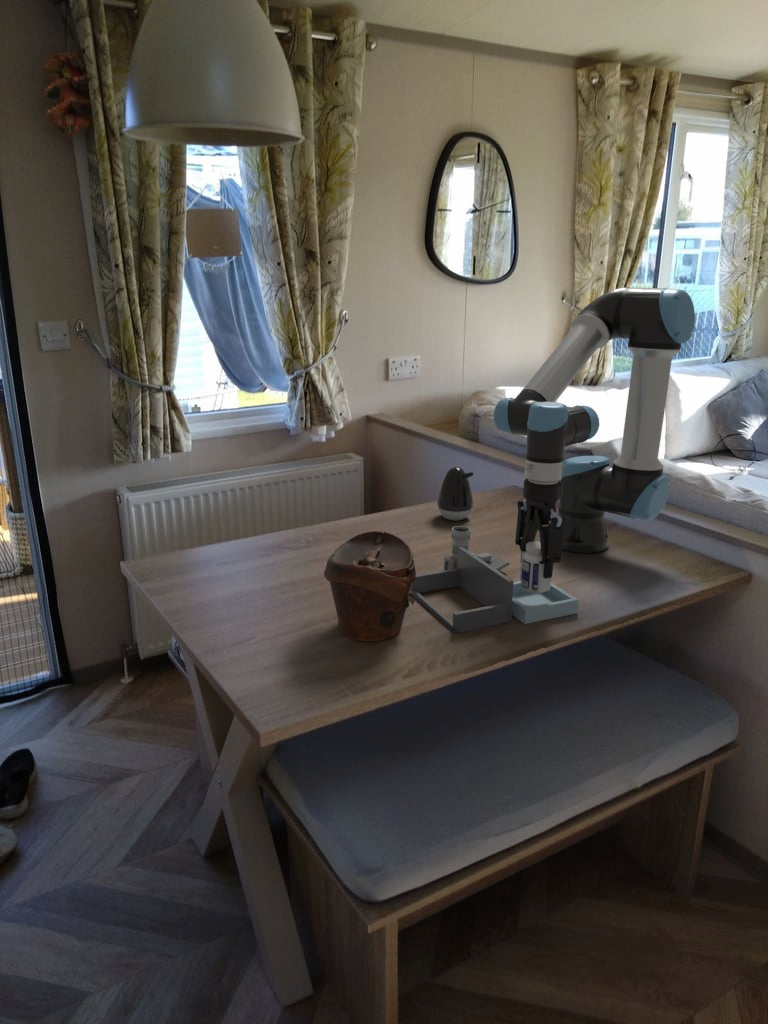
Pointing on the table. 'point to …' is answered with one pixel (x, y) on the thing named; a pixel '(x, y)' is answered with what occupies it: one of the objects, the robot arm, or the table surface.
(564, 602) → the tray
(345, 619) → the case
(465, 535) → the camera
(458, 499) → the pump dispenser
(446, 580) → the stand
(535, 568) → the pill bottle
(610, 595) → the table surface
